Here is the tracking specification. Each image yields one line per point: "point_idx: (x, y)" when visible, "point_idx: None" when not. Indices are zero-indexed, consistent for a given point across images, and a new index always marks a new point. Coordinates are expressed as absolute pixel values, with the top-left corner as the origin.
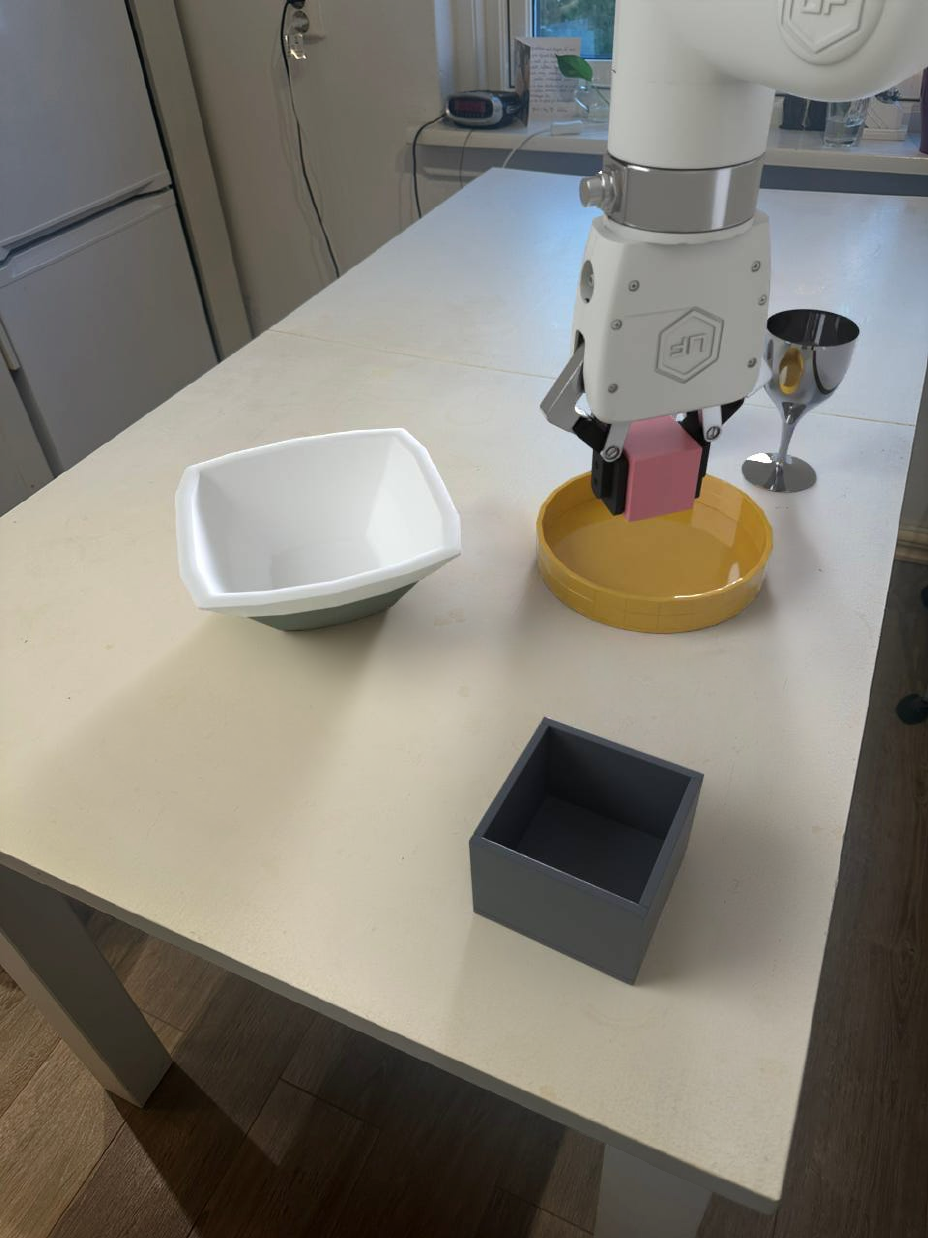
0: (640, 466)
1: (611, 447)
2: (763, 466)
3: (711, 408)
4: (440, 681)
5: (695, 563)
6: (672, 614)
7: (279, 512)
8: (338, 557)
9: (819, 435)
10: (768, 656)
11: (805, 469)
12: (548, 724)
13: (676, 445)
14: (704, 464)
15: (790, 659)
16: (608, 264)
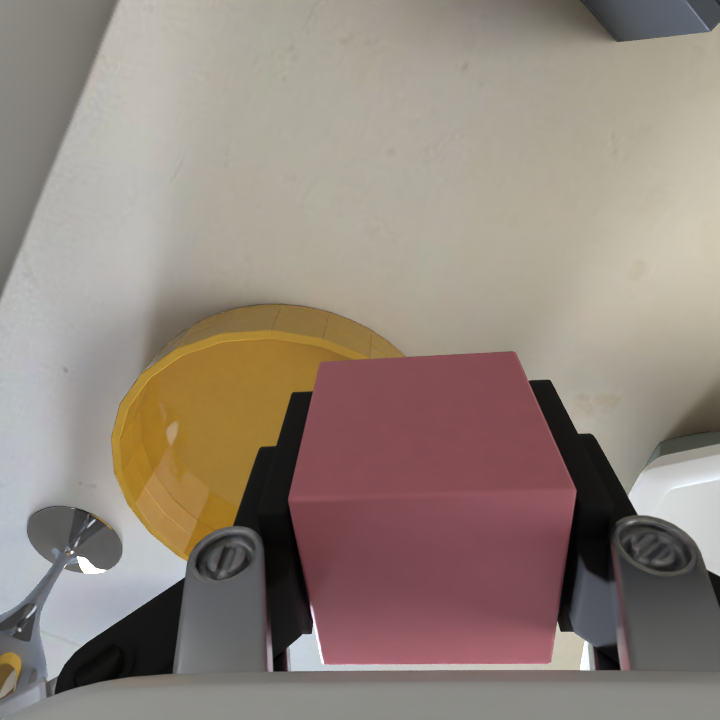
0: (543, 471)
1: (664, 567)
2: (91, 552)
3: (218, 661)
4: (660, 297)
5: (233, 417)
6: (304, 322)
7: None
8: (696, 533)
9: (6, 584)
10: (184, 230)
11: (38, 536)
12: (717, 2)
13: (374, 533)
14: (272, 460)
15: (153, 217)
16: None
